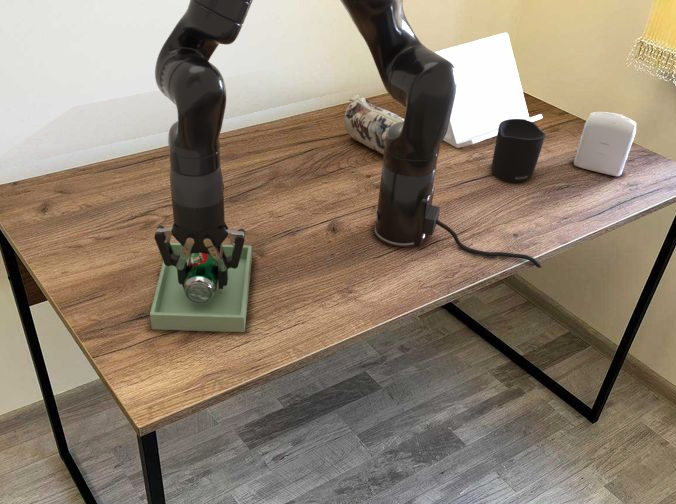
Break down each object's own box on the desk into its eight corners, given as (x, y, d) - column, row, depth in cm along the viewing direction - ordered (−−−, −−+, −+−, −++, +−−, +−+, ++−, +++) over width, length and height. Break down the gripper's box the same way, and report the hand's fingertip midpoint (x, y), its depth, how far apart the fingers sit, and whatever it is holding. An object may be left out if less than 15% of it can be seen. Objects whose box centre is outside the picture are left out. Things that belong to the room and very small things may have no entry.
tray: (169, 257, 128) (167, 242, 126) (251, 260, 128) (251, 245, 126) (151, 329, 114) (149, 314, 112) (244, 332, 114) (244, 317, 112)
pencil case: (436, 165, 157) (444, 122, 151) (409, 178, 153) (416, 133, 146) (363, 128, 169) (367, 86, 162) (336, 138, 164) (339, 95, 158)
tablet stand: (411, 123, 172) (422, 48, 160) (483, 98, 184) (498, 28, 173) (469, 154, 162) (485, 77, 150) (541, 126, 174) (561, 53, 163)
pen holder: (484, 178, 154) (494, 133, 148) (494, 158, 161) (504, 115, 154) (529, 188, 152) (541, 143, 145) (537, 168, 159) (549, 124, 152)
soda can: (219, 263, 125) (212, 308, 116) (189, 257, 124) (180, 302, 115) (225, 239, 121) (217, 283, 113) (194, 232, 121) (184, 277, 112)
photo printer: (570, 166, 160) (587, 112, 152) (575, 158, 163) (591, 104, 155) (619, 179, 157) (638, 124, 149) (622, 171, 160) (642, 116, 152)
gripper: (143, 204, 105) (155, 298, 116) (245, 208, 105) (247, 301, 117) (151, 177, 110) (162, 270, 122) (248, 181, 111) (249, 273, 122)
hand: (203, 285), depth 119 cm, fingers closed on soda can, 5 cm apart
